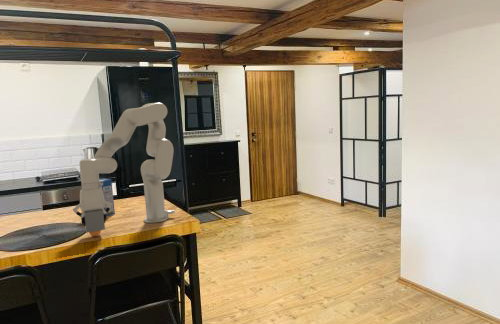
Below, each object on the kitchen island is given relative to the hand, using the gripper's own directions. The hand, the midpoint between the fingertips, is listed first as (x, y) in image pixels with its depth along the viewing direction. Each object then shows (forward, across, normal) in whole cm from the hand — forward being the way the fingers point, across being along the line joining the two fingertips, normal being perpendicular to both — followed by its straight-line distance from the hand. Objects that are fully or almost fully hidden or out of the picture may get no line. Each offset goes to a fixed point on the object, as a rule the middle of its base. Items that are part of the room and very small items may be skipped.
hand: (94, 223), depth 167 cm
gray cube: (+3, 0, 0) cm, 3 cm away
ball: (+4, 0, 0) cm, 4 cm away
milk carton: (+6, -8, -40) cm, 41 cm away
